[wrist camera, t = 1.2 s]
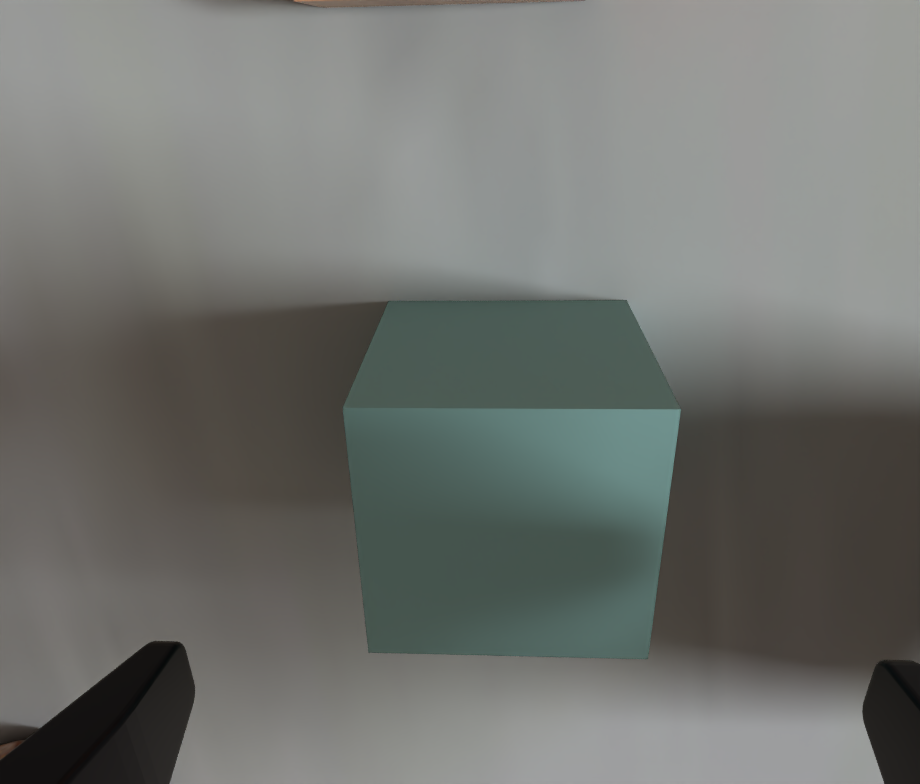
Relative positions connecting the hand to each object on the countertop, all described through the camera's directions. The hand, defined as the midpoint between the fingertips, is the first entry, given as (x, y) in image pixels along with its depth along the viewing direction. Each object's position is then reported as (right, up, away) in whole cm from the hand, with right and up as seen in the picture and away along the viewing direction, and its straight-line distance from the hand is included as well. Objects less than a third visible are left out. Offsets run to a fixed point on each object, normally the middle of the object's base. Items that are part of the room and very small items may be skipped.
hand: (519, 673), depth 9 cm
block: (0, +3, +7) cm, 8 cm away
